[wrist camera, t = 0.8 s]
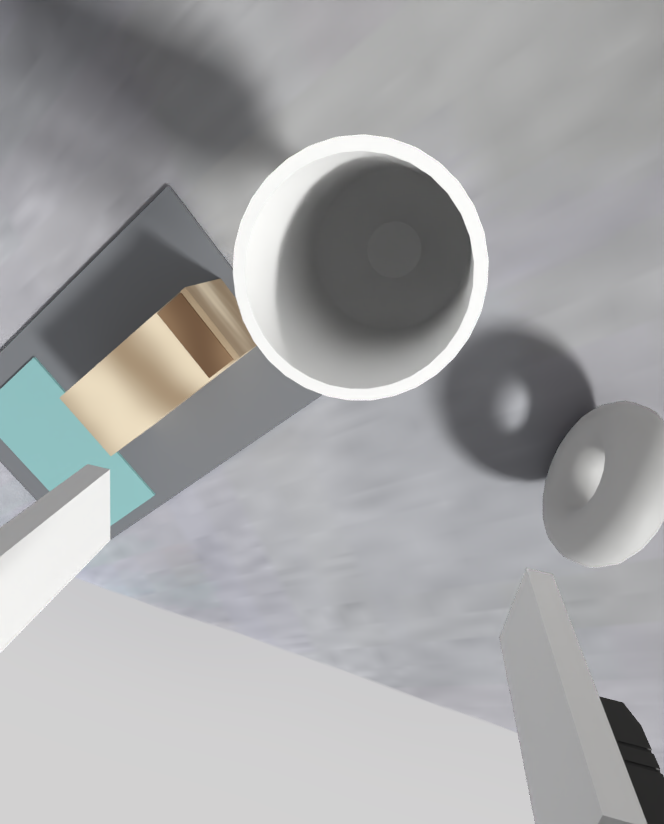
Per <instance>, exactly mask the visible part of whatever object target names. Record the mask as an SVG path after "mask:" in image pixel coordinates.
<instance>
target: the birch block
mask: <svg viewBox="0 0 664 824" xmlns="http://www.w3.org/2000/svg"><path fill="white" fill-rule="evenodd" d="M256 346H257V345H256V344H255V342H254V341H253V339H252V337H251V335H250V333H249V331H248V329H247V327H246V325H245V323H244V322H243V319H242V316H241V313H240V309H239V306H238V303H237V300H236V298H235V296H234V295H233V294H232V292H231V291H230V290H229V289H228V287H227V286H226V285H225V283H224V282H223V281H222V279H217V280H212V281H208V282H204V283H200V284H196V285H192V286H188V287H185V288H184V289H182V290H181V291H180V292H179V293H178V294H177V295H176V296H175V297H173V298H172V299H171V300H170V301H169V302H168V303H167V304H165V305H164V306H163V307H162V308H161V309H160V310H159V311H157V312H156V313H155V314H154V315H153V316H152V317H151V318H150V319H148V320H147V321H146V322H145V323H144V324H143V325H142V326H140V327H139V328H138V329H137V330H136V331H135V332H134V333H132V334H131V335H130V336H129V337H128V338H127V339H126V340H125V341H123V342H122V343H121V344H120V345H119V346H118V347H117V348H115V349H114V350H113V351H112V352H111V353H110V354H109V355H107V356H106V357H105V358H104V359H103V360H102V361H101V362H100V363H98V364H97V365H96V366H95V367H94V368H93V369H92V370H90V371H89V372H88V373H87V374H86V375H85V376H84V377H82V378H81V379H80V380H79V381H78V382H77V383H76V384H75V385H73V386H72V387H71V388H70V389H69V390H68V391H67V392H65V393H64V394H63V395H62V396H61V397H60V399H61V400H62V402H63V403H64V404H65V405H66V406H67V407H68V408H69V410H70V411H71V412H72V413H73V414H74V415H75V416H76V417H77V419H78V420H79V421H80V422H81V423H82V424H83V425H84V427H85V428H86V429H87V430H88V431H89V432H90V433H91V435H92V436H93V437H94V438H95V439H96V440H97V441H98V442H99V444H100V445H101V446H102V447H103V448H104V449H105V450H106V452H107V453H108V454H109V455H110V456H112V455H113V454H115V453H116V452H117V451H119V450H120V449H122V448H123V447H124V446H126V445H127V444H128V443H130V442H131V441H133V440H134V439H135V438H137V437H138V436H139V435H141V434H142V433H144V432H145V431H146V430H148V429H149V428H150V427H152V426H153V425H154V424H156V423H157V422H158V421H160V420H161V419H162V418H163V417H165V416H166V415H167V414H169V413H170V412H171V411H173V410H174V409H175V408H176V407H178V406H179V405H180V404H182V403H183V402H184V401H186V400H187V399H188V398H189V397H191V396H192V395H193V394H195V393H196V392H197V391H199V390H200V389H201V388H202V387H204V386H205V385H206V384H208V383H209V382H210V381H212V380H213V379H214V378H215V377H217V376H218V375H219V374H221V373H222V372H223V371H225V370H226V369H227V368H228V367H230V366H231V365H232V364H234V363H235V362H236V361H238V360H239V359H240V358H241V357H243V356H244V355H245V354H247V353H248V352H249V351H251V350H252V349H253V348H254V347H256Z"/></svg>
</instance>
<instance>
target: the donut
mask: <svg viewBox="0 0 664 824" xmlns="http://www.w3.org/2000/svg"><path fill="white" fill-rule="evenodd" d="M543 521H544V525H545V529H546V533H547V535H548V537H549V539H550V541H551V542H552V543H553V545H554V546H555V548H556V549H557V550H558V551H559V552H560V554H561V555H562V556H563V557H565V558H567V559H569V560H571V561H573V562H575V563H578V564H580V565H582V566H585V567H590V568H597V567H604V566H611V565H617V564H620V563H621V562H623V561H625V560H626V559H628V558H630V557H631V556H633V555H634V554H636V553H638V552H639V551H641V550H642V549H643V548H644V547H645V546H646V544H647V543H648V542H649V541H650V540H651V539H652V538H653V537H654V535H655V534H656V533H657V532H658V530H659V528H660V527H661V525H662V523H663V521H664V421H663V420H662V418H661V417H660V416H659V415H658V414H657V413H656V412H655V411H653V410H651V409H649V408H647V407H644V406H642V405H639V404H637V403H634V402H628V401H621V402H614V403H609V404H604V405H601V406H599V407H597V408H595V409H593V410H592V411H590V412H589V413H587V414H586V415H584V416H583V417H582V418H581V419H580V420H579V421H578V422H577V423H576V424H575V425H574V426H573V427H572V428H571V429H570V431H569V432H568V433H567V435H566V436H565V438H564V439H563V441H562V442H561V444H560V445H559V447H558V449H557V451H556V454H555V456H554V458H553V460H552V462H551V465H550V468H549V471H548V474H547V477H546V481H545V487H544V493H543Z"/></svg>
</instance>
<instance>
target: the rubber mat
mask: <svg viewBox="0 0 664 824" xmlns="http://www.w3.org/2000/svg"><path fill="white" fill-rule="evenodd" d="M217 279H222V281H223V282H224V283H225V285H226V286H227V287H228V289H229V290H230V291H231V292H232V294H233V295H234V296H235V287H234V279H233V268H232V267H231V266H230V264H229V263H228V262H227V260H226V259H225V258H224V256H223V255H222V254H221V253H220V251H219V250H218V249H217V247H216V246H215V245H214V243H213V242H212V241H211V239H210V238H209V237H208V235H207V234H206V233H205V231H204V230H203V229H202V227H201V226H200V225H199V223H198V222H197V221H196V219H195V218H194V217H193V216H192V214H191V213H190V212H189V210H188V209H187V208H186V206H185V205H184V204H183V202H182V201H181V200H180V198H179V197H178V196H177V194H176V193H175V192H174V190H173V189H172V188H171V186H167V187H166V188H165V189H164V190H163V191H162V192H161V193H160V194H159V195H158V196H157V197H156V198H155V199H154V200H153V201H152V202H151V203H150V204H149V205H148V206H147V207H146V208H145V209H144V210H143V211H142V212H141V213H140V214H139V215H138V216H137V217H136V218H135V219H134V220H133V221H132V222H131V223H130V224H129V225H128V226H127V227H126V228H125V229H124V230H123V231H122V232H121V233H120V234H119V235H118V236H117V237H116V238H115V239H114V240H113V241H112V242H111V243H110V244H109V245H108V246H107V247H106V248H105V249H104V250H103V251H102V252H101V253H100V254H99V255H98V256H97V257H96V258H95V259H94V260H93V261H92V262H91V263H90V264H89V265H88V266H87V267H86V268H85V269H84V270H83V271H82V272H81V273H80V274H79V275H78V276H77V277H76V278H75V279H74V280H73V281H72V282H71V283H70V284H69V285H68V286H67V287H66V288H65V289H64V290H63V291H62V292H61V293H60V294H59V295H58V296H57V297H56V298H55V299H54V300H53V301H52V302H51V303H50V304H49V305H48V306H47V307H46V308H44V309H43V310H42V311H41V312H40V313H39V314H38V315H37V316H36V317H35V318H34V319H33V320H32V321H31V322H30V323H29V324H28V325H27V326H26V327H25V328H24V329H23V330H22V331H21V332H20V333H19V334H18V335H17V336H16V337H15V338H14V339H13V340H12V341H11V342H10V343H9V344H8V345H7V346H6V347H5V348H4V349H3V350H2V351H1V352H0V389H1V388H2V387H3V386H4V385H5V384H6V383H7V382H8V381H9V380H11V379H12V378H13V377H14V376H15V375H16V374H17V373H18V372H19V371H20V370H21V369H22V368H23V367H24V366H25V365H26V364H27V363H28V362H29V361H31V360H32V359H33V358H34V357H36V358H37V359H38V361H39V362H40V363H41V364H42V365H43V366H44V367H45V369H46V370H47V371H48V372H49V373H50V374H51V375H52V377H53V378H54V379H55V380H56V381H57V382H58V383H59V385H60V386H61V387H62V388H63V389H64V390H65V391H66V392H67V391H68V390H69V389H70V388H71V387H72V386H73V385H75V384H76V383H77V382H78V381H79V380H80V379H81V378H82V377H84V376H85V375H86V374H87V373H88V372H89V371H90V370H92V369H93V368H94V367H95V366H96V365H97V364H98V363H100V362H101V361H102V360H103V359H104V358H105V357H106V356H107V355H109V354H110V353H111V352H112V351H113V350H114V349H115V348H117V347H118V346H119V345H120V344H121V343H122V342H123V341H125V340H126V339H127V338H128V337H129V336H130V335H131V334H132V333H134V332H135V331H136V330H137V329H138V328H139V327H140V326H142V325H143V324H144V323H145V322H146V321H147V320H148V319H150V318H151V317H152V316H153V315H154V314H155V313H156V312H157V311H159V310H160V309H161V308H162V307H163V306H164V305H165V304H167V303H168V302H169V301H170V300H171V299H172V298H173V297H175V296H176V295H177V294H178V293H179V292H180V291H181V290H182V289H184V288H185V287H188V286H192V285H196V284H200V283H204V282H208V281H212V280H217ZM235 298H236V296H235ZM321 395H322V394H320V393H317V392H314V391H312V390H309V389H307V388H304V387H303V386H301V385H300V384H298V383H296V382H295V381H293V380H292V379H290V378H288V377H287V376H285V375H284V374H283V373H282V372H281V371H280V370H279V369H277V368H276V367H275V366H274V365H273V364H272V363H271V362H270V361H269V360H268V359H267V358H266V357H265V355H264V354H263V353H262V351H261V350H260V349H259V348H258V346H256V347H254V348H253V349H252V350H251V351H249V352H248V353H247V354H245V355H244V356H243V357H241V358H240V359H239V360H238V361H236V362H235V363H234V364H232V365H231V366H230V367H228V368H227V369H226V370H225V371H223V372H222V373H221V374H219V375H218V376H217V377H215V378H214V379H213V380H212V381H210V382H209V383H208V384H206V385H205V386H204V387H202V388H201V389H200V390H199V391H197V392H196V393H195V394H193V395H192V396H191V397H189V398H188V399H187V400H186V401H184V402H183V403H182V404H180V405H179V406H178V407H176V408H175V409H174V410H173V411H171V412H170V413H169V414H167V415H166V416H165V417H163V418H162V419H161V420H160V421H158V422H157V423H156V424H154V425H153V426H152V427H150V428H149V429H148V430H146V431H145V432H144V433H142V434H141V435H139V436H138V437H137V438H135V439H134V440H133V441H131V442H130V443H128V444H127V445H126V446H124V447H123V448H122V449H120V450H119V451H118V452H119V453H120V454H121V455H122V456H123V458H124V459H125V460H126V461H127V462H128V463H129V464H130V466H131V467H132V468H133V469H134V470H135V471H136V472H137V474H138V475H139V476H140V477H141V478H142V479H143V480H144V482H145V483H146V484H147V485H148V486H149V487H150V488H151V490H152V491H153V492H154V493H155V495H154V496H153V497H151V498H150V499H149V500H147V501H146V502H144V503H143V504H141V505H140V506H139V507H137V508H136V509H134V510H133V511H131V512H130V513H129V514H127V515H126V516H124V517H123V518H121V519H120V520H119V521H117V522H116V523H114V524H113V525H111V526H110V540H111V539H112V538H114V537H115V536H117V535H118V534H120V533H121V532H123V531H124V530H125V529H127V528H128V527H130V526H131V525H133V524H134V523H136V522H137V521H139V520H140V519H142V518H143V517H144V516H146V515H147V514H149V513H150V512H152V511H153V510H155V509H156V508H158V507H159V506H161V505H162V504H163V503H165V502H166V501H168V500H169V499H171V498H172V497H174V496H175V495H177V494H178V493H180V492H181V491H182V490H184V489H185V488H187V487H188V486H190V485H191V484H193V483H194V482H196V481H197V480H199V479H200V478H201V477H203V476H204V475H206V474H207V473H209V472H210V471H212V470H213V469H215V468H216V467H218V466H219V465H220V464H222V463H223V462H225V461H226V460H228V459H229V458H231V457H232V456H234V455H235V454H237V453H238V452H239V451H241V450H242V449H244V448H245V447H247V446H248V445H250V444H251V443H253V442H254V441H256V440H257V439H258V438H260V437H261V436H263V435H264V434H266V433H267V432H269V431H270V430H272V429H273V428H275V427H276V426H277V425H279V424H280V423H282V422H283V421H285V420H286V419H288V418H289V417H291V416H292V415H294V414H295V413H296V412H298V411H299V410H301V409H302V408H304V407H305V406H307V405H308V404H310V403H311V402H313V401H314V400H315V399H317V398H318V397H320V396H321ZM0 462H1V463H2V464H3V465H4V466H5V467H6V468H7V469H8V470H9V471H10V472H11V474H12V475H13V476H14V477H15V478H16V479H17V480H18V481H19V482H20V483H21V484H22V485H23V486H24V487H25V489H26V490H27V491H28V492H29V493H30V494H31V495H32V496H33V497H34V498H35V499H36V500H39V499H40V498H42V497H43V496H44V495H46V494H47V493H48V492H50V491H49V490H48V489H47V488H46V487H45V486H44V485H43V484H42V483H41V482H40V481H39V480H38V478H37V477H36V476H35V475H34V474H33V473H32V472H31V471H30V470H29V469H28V468H27V467H26V466H25V464H24V463H23V462H22V461H21V460H20V459H19V458H18V457H17V456H16V455H15V454H14V453H13V451H12V450H11V449H10V448H9V447H8V446H7V445H6V444H5V443H4V442H3V441H2V440H1V438H0Z"/></svg>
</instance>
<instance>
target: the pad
mask: <svg viewBox="0 0 664 824" xmlns="http://www.w3.org/2000/svg"><path fill="white" fill-rule="evenodd" d="M65 392H66V391H65V390H64V389H63V388H62V387H61V386H60V385H59V383H58V382H57V381H56V380H55V379H54V378H53V377H52V375H51V374H50V373H49V372H48V371H47V370H46V369H45V367H44V366H43V365H42V364H41V363H40V362H39V361H38V359H37V358H36V357H34V358H33V359H32V360H31V361H29V362H28V363H27V364H26V365H25V366H24V367H23V368H22V369H21V370H20V371H19V372H18V373H17V374H16V375H15V376H14V377H13V378H12V379H11V380H9V381H8V382H7V383H6V384H5V385H4V386H3V387H2V388H1V389H0V438H1V440H2V441H3V442H4V443H5V444H6V445H7V446H8V447H9V448H10V449H11V450H12V451H13V453H14V454H15V455H16V456H17V457H18V458H19V459H20V460H21V461H22V462H23V463H24V464H25V466H26V467H27V468H28V469H29V470H30V471H31V472H32V473H33V474H34V475H35V476H36V477H37V478H38V480H39V481H40V482H41V483H42V484H43V485H44V486H45V487H46V488H47V489H48V490H49V491H51V490H53V489H54V488H55V487H57V486H58V485H59V484H61V483H62V482H64V481H65V480H66V479H68V478H69V477H70V476H72V475H73V474H75V473H76V472H77V471H79V470H80V469H81V468H83V467H84V466H86V465H87V464H90V465H94V466H98V467H102V468H107V469H110V526H111V525H113V524H114V523H116V522H117V521H119V520H120V519H121V518H123V517H124V516H126V515H127V514H129V513H130V512H131V511H133V510H134V509H136V508H137V507H139V506H140V505H141V504H143V503H144V502H146V501H147V500H149V499H150V498H151V497H153V496H154V495H155V493H154V492H153V491H152V490H151V488H150V487H149V486H148V485H147V484H146V483H145V482H144V480H143V479H142V478H141V477H140V476H139V475H138V474H137V472H136V471H135V470H134V469H133V468H132V467H131V466H130V464H129V463H128V462H127V461H126V460H125V459H124V458H123V456H122V455H121V454H120V453H119V452H118V451H117V452H116V453H115V454H113V455H112V456H110V455H109V454H108V453H107V452H106V450H105V449H104V448H103V447H102V446H101V445H100V444H99V442H98V441H97V440H96V439H95V438H94V437H93V436H92V435H91V433H90V432H89V431H88V430H87V429H86V428H85V427H84V425H83V424H82V423H81V422H80V421H79V420H78V419H77V417H76V416H75V415H74V414H73V413H72V412H71V411H70V410H69V408H68V407H67V406H66V405H65V404H64V403H63V402H62V400H61V399H60V397H61V396H62V395H63V394H64V393H65Z"/></svg>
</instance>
